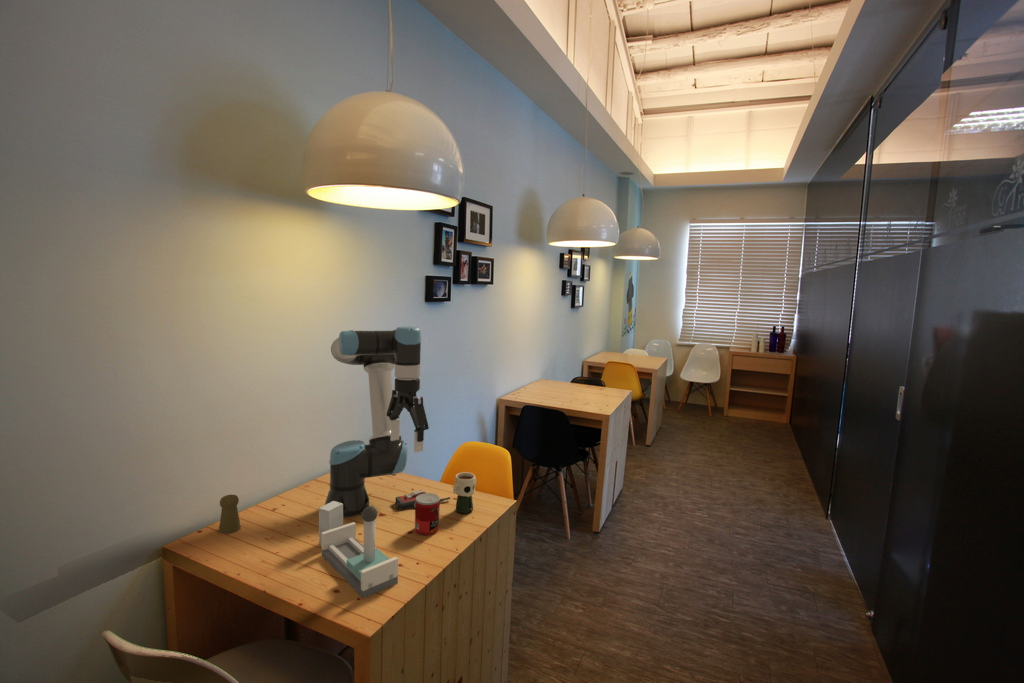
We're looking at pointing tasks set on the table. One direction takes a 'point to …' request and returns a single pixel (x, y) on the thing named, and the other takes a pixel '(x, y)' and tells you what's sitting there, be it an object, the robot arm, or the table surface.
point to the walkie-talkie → (410, 500)
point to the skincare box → (330, 517)
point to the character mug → (464, 491)
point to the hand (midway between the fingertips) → (406, 445)
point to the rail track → (345, 546)
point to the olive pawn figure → (229, 515)
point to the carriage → (367, 546)
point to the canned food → (427, 513)
